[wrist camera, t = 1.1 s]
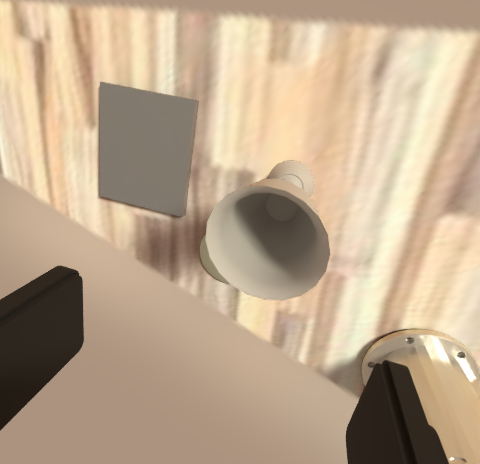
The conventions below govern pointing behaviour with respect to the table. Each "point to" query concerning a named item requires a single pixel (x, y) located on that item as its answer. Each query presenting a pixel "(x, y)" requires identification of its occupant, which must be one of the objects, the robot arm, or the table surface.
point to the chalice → (270, 235)
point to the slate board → (146, 147)
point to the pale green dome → (209, 262)
